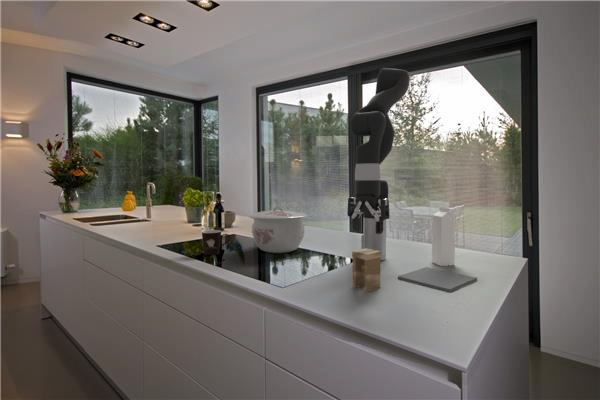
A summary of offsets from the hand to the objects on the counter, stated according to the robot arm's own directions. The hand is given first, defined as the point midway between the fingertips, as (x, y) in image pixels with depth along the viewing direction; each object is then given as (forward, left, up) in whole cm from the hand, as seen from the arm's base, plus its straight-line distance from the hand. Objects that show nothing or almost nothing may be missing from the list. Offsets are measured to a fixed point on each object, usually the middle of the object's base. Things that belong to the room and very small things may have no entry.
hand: (367, 232), depth 106 cm
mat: (+10, +24, -17) cm, 31 cm away
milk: (+1, +45, -17) cm, 48 cm away
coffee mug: (-75, -14, -17) cm, 78 cm away
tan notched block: (0, 0, -17) cm, 17 cm away
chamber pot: (-62, +12, -17) cm, 66 cm away
